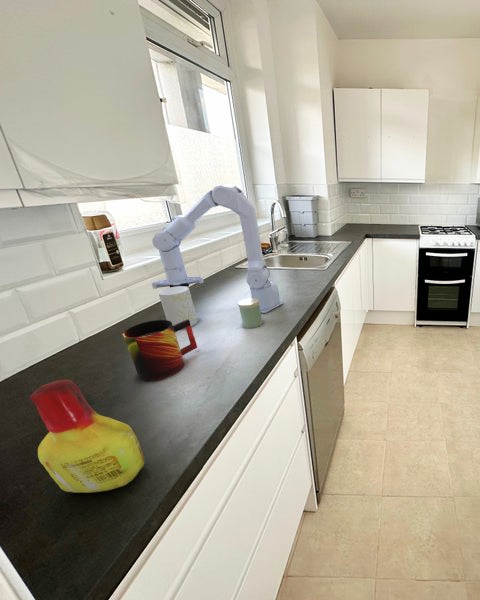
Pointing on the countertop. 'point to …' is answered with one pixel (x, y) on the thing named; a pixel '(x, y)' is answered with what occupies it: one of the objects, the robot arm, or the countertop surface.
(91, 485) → the bottle
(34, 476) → the countertop surface
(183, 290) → the white cylinder
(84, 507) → the countertop surface
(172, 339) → the mug
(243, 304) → the tea tin
